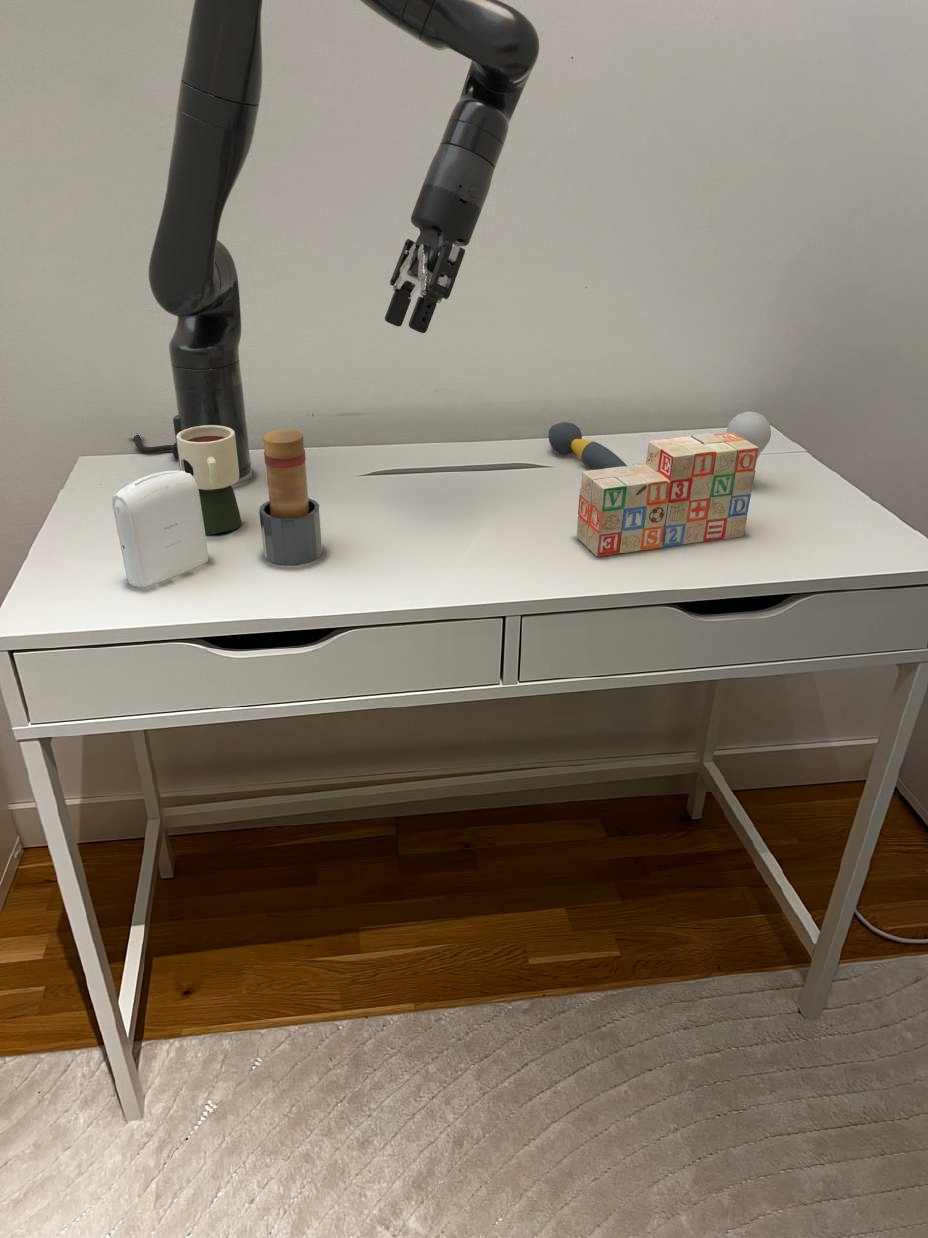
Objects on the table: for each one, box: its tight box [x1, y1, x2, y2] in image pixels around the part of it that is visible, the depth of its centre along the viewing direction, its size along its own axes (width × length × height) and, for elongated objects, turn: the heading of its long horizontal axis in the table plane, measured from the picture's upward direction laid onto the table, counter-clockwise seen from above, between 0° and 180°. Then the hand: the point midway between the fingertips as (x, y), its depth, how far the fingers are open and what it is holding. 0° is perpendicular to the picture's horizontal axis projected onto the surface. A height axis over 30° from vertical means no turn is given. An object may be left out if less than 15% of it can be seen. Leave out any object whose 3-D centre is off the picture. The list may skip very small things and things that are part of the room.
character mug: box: [175, 425, 243, 536], centre depth 124 cm, size 11×7×13 cm, turn 19°
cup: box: [258, 497, 324, 567], centre depth 119 cm, size 7×7×6 cm
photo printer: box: [111, 470, 209, 588], centre depth 113 cm, size 10×4×12 cm, turn 140°
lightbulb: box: [725, 411, 772, 459], centre depth 139 cm, size 6×6×11 cm
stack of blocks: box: [576, 432, 759, 557], centre depth 123 cm, size 21×6×12 cm, turn 109°
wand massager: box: [547, 421, 628, 470], centre depth 148 cm, size 20×5×5 cm, turn 38°
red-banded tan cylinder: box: [262, 429, 309, 518], centre depth 116 cm, size 5×5×15 cm
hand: (403, 327), depth 118 cm, fingers open, 8 cm apart
